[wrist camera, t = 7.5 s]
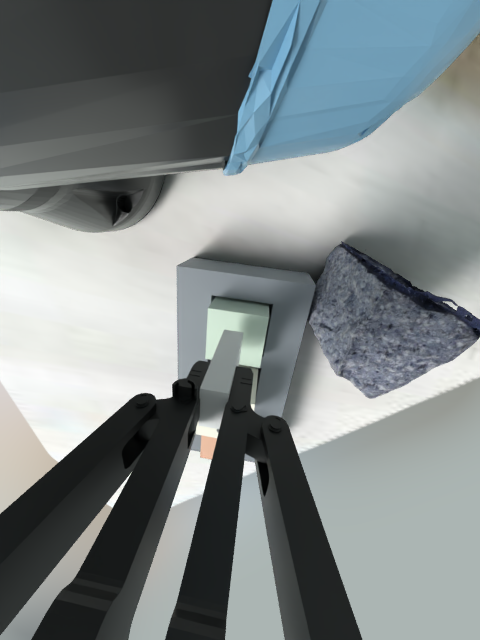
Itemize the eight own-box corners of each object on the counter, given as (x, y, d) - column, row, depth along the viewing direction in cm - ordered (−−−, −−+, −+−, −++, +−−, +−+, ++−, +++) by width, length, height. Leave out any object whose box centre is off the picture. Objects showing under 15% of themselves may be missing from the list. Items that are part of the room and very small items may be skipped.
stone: (355, 221, 22) (450, 281, 20) (297, 297, 28) (367, 349, 26) (341, 229, 13) (516, 343, 11) (257, 342, 18) (363, 427, 17)
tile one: (220, 289, 23) (207, 309, 18) (269, 297, 23) (268, 318, 18) (217, 333, 25) (204, 359, 20) (262, 340, 25) (259, 369, 20)
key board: (192, 257, 24) (176, 265, 20) (308, 273, 23) (315, 285, 19) (189, 419, 34) (178, 447, 30) (269, 434, 33) (269, 465, 29)
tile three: (212, 394, 29) (201, 429, 24) (251, 401, 29) (247, 437, 24) (210, 422, 31) (199, 458, 26) (246, 428, 31) (242, 467, 26)
